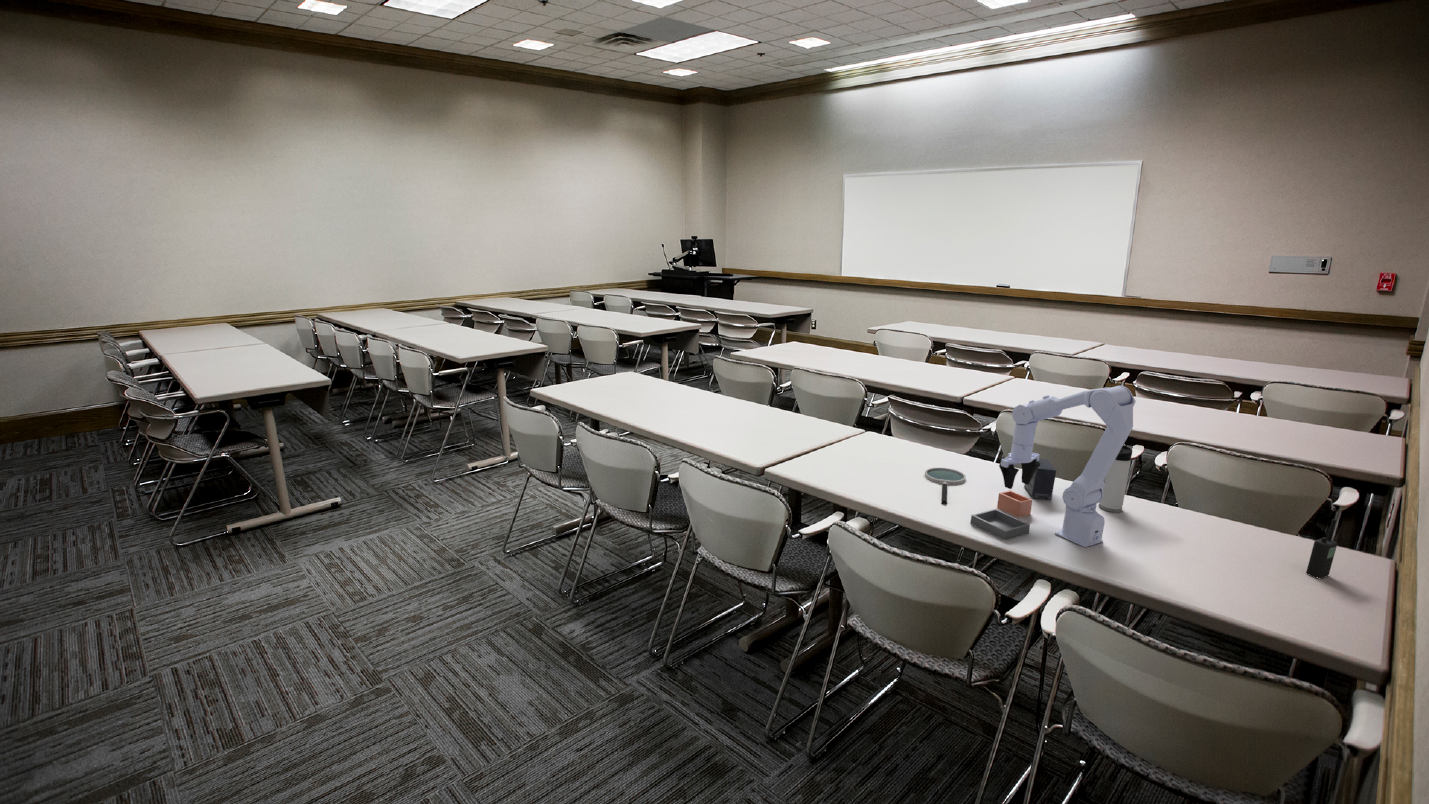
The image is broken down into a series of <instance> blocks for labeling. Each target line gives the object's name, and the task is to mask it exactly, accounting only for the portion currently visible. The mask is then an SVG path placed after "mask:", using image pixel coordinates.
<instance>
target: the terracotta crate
mask: <svg viewBox="0 0 1429 804" xmlns="http://www.w3.org/2000/svg"><path fill="white" fill-rule="evenodd" d="M1032 505H1033V498H1031V497H1030V498H1029V497H1027V496H1025V495H1022V494H1020V493H1017V492H1015V491H1012V489H1009V490H1007V491H1002V492H999V493H998V498H997V505H996V509H998V510H999V509H1000V511H1002V512H1003V511H1004V512H1005V513H1007V514H1009V515H1010V514H1011V516H1012V515H1013V517H1017V518H1023V517H1026V516H1029V515H1031V514H1032V513H1031V512H1032Z"/></svg>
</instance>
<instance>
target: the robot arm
mask: <svg viewBox="0 0 1429 804" xmlns="http://www.w3.org/2000/svg"><path fill="white" fill-rule="evenodd" d="M1135 404H1136V399H1135V397H1134V395H1133V393H1132V391H1131V390H1130V389H1129V388H1128V387H1126V386H1124V385H1116V386H1112V387H1111V386H1109V387H1102V388H1093V389H1089V390H1088V389H1087V390H1083V391H1081V392H1078V393H1075V394H1071V395H1068V396H1064V397H1062V398H1058V397H1056V396H1050V395H1044V396H1042V399H1038V400H1034V399H1032V400H1029V401H1028V403H1024V404H1017V406H1015V407H1014V408H1013V409H1012V412H1011V416H1012V417H1011V418H1012V419H1013V421H1014V428H1013V436H1012V444H1011V448H1010V449H1011V451H1010V452H1008V453H1007V456H1006V457H1005V458H1002V459H1001V460H1000V463H999V465H998V466H999V469H1000V471H1001V474H1002V477H1003V483H1004V487H1005V488H1007V489H1009V490H1012V489H1013V486H1014V483H1015V479H1016V476H1017V474H1018V473H1019V471H1020V469H1018V468H1016V467H1015V466H1016V465H1020V464H1021V483H1022V484H1023V485H1024V484H1027V485H1029V483H1030V481H1031V479H1032V477H1033V475H1034V473H1035V471H1036V470H1037V469H1038V468H1039V466H1040V463H1039V462H1036V461H1038V460H1039V459H1040V456H1041V454H1039V453H1037V452H1033V450H1034V442H1035V436H1036V428H1037V426H1038V423H1039V421H1044V420H1047V419H1051V418H1054V417H1055V418H1056V417H1059V416H1060V415H1061V414H1062V413H1063V410H1067V409H1070V408H1074V407H1079V406H1083V405H1084V406H1086V408H1088V409H1090V408H1091V409H1092V410H1093V411H1094V412H1095V413H1096V415H1097V416H1098V417H1099V418H1100V419H1101V420H1102V422H1104V424H1105V426H1106V428H1105V430H1104V431H1103V433H1102V435H1101V437H1100V439H1099V440H1098V443H1097V444H1096V446H1095V448H1094V450H1093V452H1092V454H1091V455H1090V458H1089V459H1088V461H1087V463H1086V465H1085V467H1084V469H1083V471H1082V472H1081V474H1080V475H1079V476H1078V477H1077V478H1076V479H1074V480H1073V482H1072V483H1071V485H1070V486H1069V487H1067V488H1065V489H1064V490H1063V492H1062V501H1063V503H1064V505H1065V510H1064V511H1065V512H1064V517H1063V523H1062V528H1061V529H1060V530H1056V531H1055V532H1054V534H1055V535H1057V536H1060V537H1061V538H1063V539H1066V540H1067V541H1070V542H1072V543H1075V544H1077V545H1079V546H1081V547H1084V548H1087V547H1090V546H1093V545H1096V544H1100V543H1103V541H1104V540H1103V533H1104V529H1105V521H1106V520H1105V517H1104V516H1103V515H1102V514H1100V513H1099V512H1098V511H1096V510H1097V509H1096V508H1097V504H1099V502H1100V501H1101V500H1102V498H1103V489H1104V487H1105V484H1104V482H1103V480H1104V478H1105V476H1106V475H1107V473H1108V471H1109V469H1110V468H1111V466H1112V464H1113V462H1114V460H1115V459H1116V457H1117V455H1118V453H1119V452H1120V450H1121V448H1122V446H1123V445H1125V442H1126V441H1127V439H1128V437H1129V435H1130V434H1131V432H1132V430H1133V427H1134V406H1135Z"/></svg>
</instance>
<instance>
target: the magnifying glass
mask: <svg viewBox="0 0 1429 804" xmlns="http://www.w3.org/2000/svg"><path fill="white" fill-rule="evenodd" d="M925 476H926V477H925ZM924 477H925V478H926V479H927V478H928V479H927V480H928V481H931V482H933V481H934V483H937V484H939V485H940V484H941V505H947V504H948V485H947V484H949V486H950V484H951V486H953V485H954V484H957V485H961V484H963V483H965V482H966V474H964V473H963V472H962V471H959V470H957V469H953V468H949V467H937V466H936V467H930V468H927V469H926V470H925V472H924ZM954 486H955V485H954Z"/></svg>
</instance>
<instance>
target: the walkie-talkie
mask: <svg viewBox="0 0 1429 804" xmlns="http://www.w3.org/2000/svg"><path fill="white" fill-rule="evenodd" d="M1336 525H1337V519H1335V518H1332V520H1331V523H1330V526H1329V531H1328V534H1327V537H1324V536H1323V537H1321V538H1319V539H1315V540H1314V542H1313V545H1312V548H1311V549H1312V550H1311V554H1310V557H1309V561H1308V564H1307V567H1306V573H1307V574H1306V573H1305V574H1306V575H1308V574H1310V575H1312V576H1311V577H1313V576H1314V577H1313V578H1315V577H1318V578H1321V579H1323V577H1324V578H1326V576H1327V577H1328V575H1329V576H1330V572H1331V568H1332V565H1333V561H1334V559H1335V558H1334V557H1335V554H1336V551H1337V548H1338V547H1337V546H1338V542H1337V541H1335V540H1332V539H1333V534H1334V532H1335V529H1336ZM1310 575H1309V576H1310ZM1318 578H1317V579H1318Z"/></svg>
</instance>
